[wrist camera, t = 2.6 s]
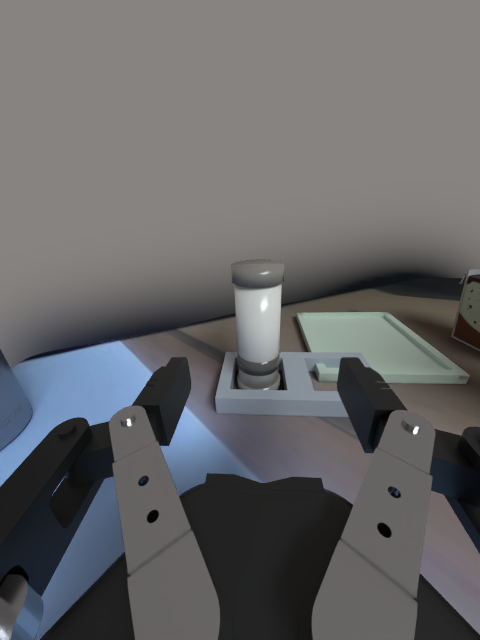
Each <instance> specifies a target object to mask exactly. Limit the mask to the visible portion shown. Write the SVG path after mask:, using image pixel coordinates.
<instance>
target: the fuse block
mask: <svg viewBox="0 0 480 640" xmlns="http://www.w3.org/2000/svg"><path fill="white" fill-rule="evenodd" d="M342 357H358V358H359V359H360V360H361V362H362V363H363V365H364V366H365V367H370V368H371V366H370V365H369V363H368V362H367V361H366V359H365V358H364V357H363V355H362V354H361V353H339V352H280V354H279V369H278V371H282V376H283V383H284V390H240V389H233V387H234V380H235V373H236V371H239V367H238V355H237V352H226V354H225V359H224V363H223V367H222V371H221V375H220V380H219V384H218V388H217V392H216V396H215V402H216V411H217V414H252V415H287V416H322V417H349V416H348V414H347V412H346V410H345V407H344V405H343V403H342V401H341V398H340V396H339V394H338V391H314V389H313V385H312V382H311V379H310V376H309V372H315V368H316V364H325V366H326V368H339V366H340V360H341V358H342Z"/></svg>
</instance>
